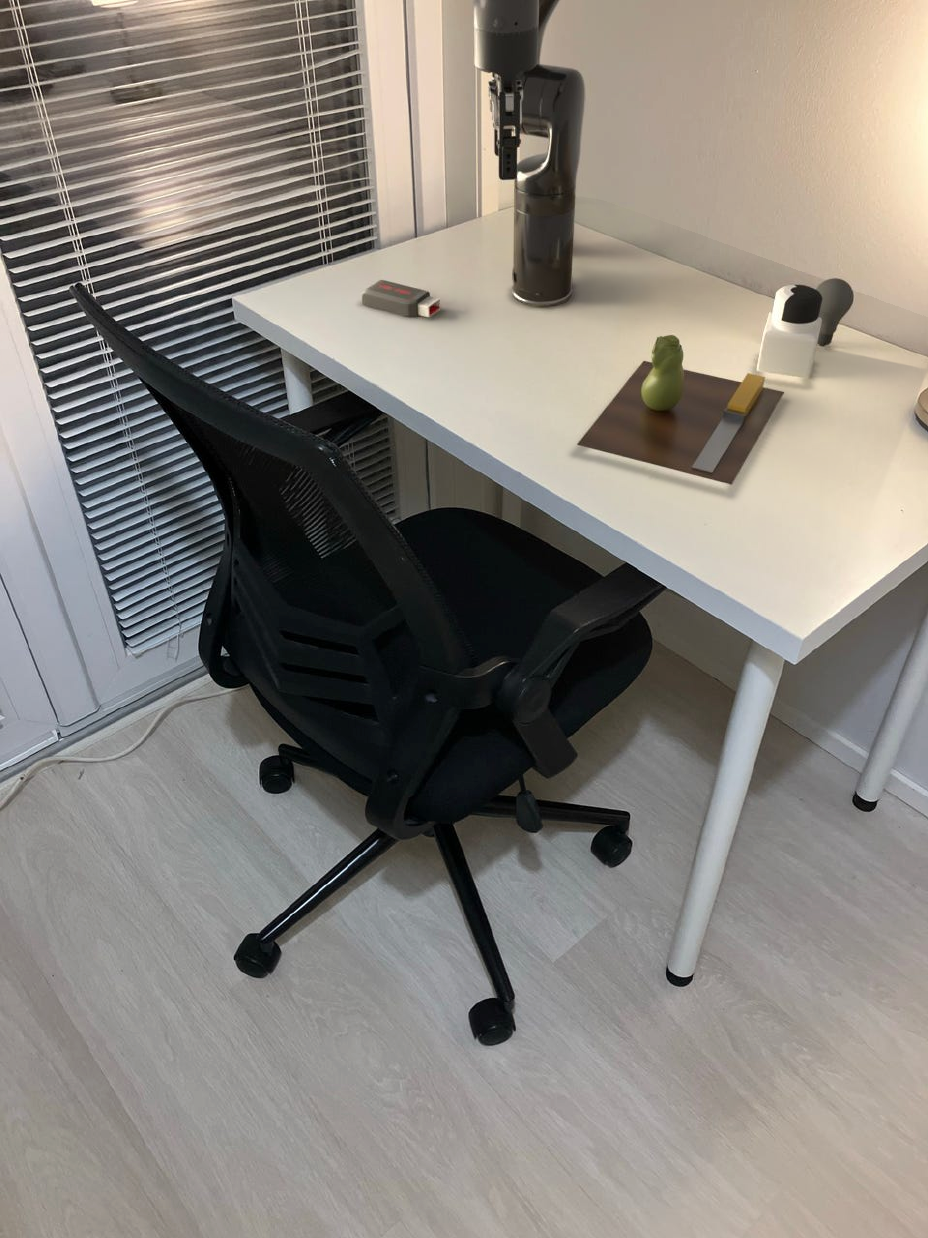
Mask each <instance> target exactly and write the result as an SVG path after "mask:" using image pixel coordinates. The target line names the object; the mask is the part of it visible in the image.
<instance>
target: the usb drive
mask: <svg viewBox="0 0 928 1238" xmlns="http://www.w3.org/2000/svg"><path fill="white" fill-rule="evenodd" d="M361 304H362V306H366V307H369V308H373V309H377V310H381V311H384V312H388V313H392V314H395V315H400V316H403V317H407V318H418V317H420V316H421V317H425V318H431V317H432V316H433V315H435V314H436V313H438V312H439V311H441V298H439V297H435V296H431V292H430V291H428V290H424V289H421V288H416V287H413V286H410V285H409V286H408V285H405V284H401V283H397V282H394V281H389V280H386V279H379V280H378V281H376V282H374V283H373V284H371V285H370V286H369V287H367V288H365V289H364V290H363V291H362V294H361Z"/></svg>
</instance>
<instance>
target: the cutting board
mask: <svg viewBox="0 0 928 1238" xmlns="http://www.w3.org/2000/svg"><path fill="white" fill-rule="evenodd" d="M653 367H654V366H653V364H652V361H648V360H643V361H642V362H641V363H640V365H639V366H638V367H637V369H636V370H635V371H634V372H633V373H632V374H631V376H630V377H629V378H628V379H627V381H626V382H625V383H624V385H623V386H622V387H621V389H619V391H618V392H617V393H616V395H615V396H614V397H613V399H612V400H611V401H610V402H609V403H608V405H607V406H606V407H605V409H604V410H603V411H602V412H601V413H600V414H599V416H598V417H597V418H596V419H595V421H594V422H593V423H592V425H591V426H590V427H589V428H588V430H587V431H586V432H585V434H583V436H582V437H581V438H580V440H578V442H577V443H576V445H577V446H581V447H584V448H588V449H592V450H596V451H600V452H604V453H606V454H607V453H608V454H611V455H614V456H615V455H616V456H618V457H623V458H627V459H631V460H634V461H639V462H643V463H646V464H650V465H654V466H658V467H662V468H666V469H670V470H674V471H678V472H681V473H685V474H689V475H692V476H697V477H701V478H705V479H708V480H712V481H716V482H721V483H723V484H727V485H733V483H734V481H735V479H736V477H737V476H738V474H739V472H740V470H741V468H742V467H743V465H744V463H745V462H746V460H747V459H748V456H749V454H751V451H752V449H753V448H754V446H755V444H756V443H757V441H758V439H759V438H760V436H761V434H762V432H763V431H764V428H765V427H766V425H767V423H768V422H769V420H770V418H771V416H772V415H773V413H774V411H775V409H776V408H777V406H778V405H779V402H780V401H781V399H782V398H783V395H785V391H783V390H778V389H773V388H768V387H765V386H763V389H762V391H761V393H760V394H759V396H758V398H757V399H756V401H755V403H754V404H753V406H752V408H751V409H750V411H749V412H748V414H747V416H746V420H745V422H744V423H743V424H742V426H741V427H740V429H739V430H738V432H737V434H736V435H735V437H734V439H733V440H732V442H731V444H730V445H729V447H728V449H727V450H726V452H725V454H724V455H723V457H722V459H721V460H720V462H719V464H718V465H717V467H716V468H715V470H714V472H713V473H712V474H709V473H705V472H702V471H698V470H694V469H692V466H693V464H694V463H695V461H696V460H697V458H698V456H699V455H700V453H701V452H702V450H703V449H704V447H705V445H706V444H707V442H708V441H709V439H710V438H711V436H712V434H713V433H714V431H715V430H716V428H717V427H718V425H719V423H720V422H721V420H722V419H723V413H724V410H725V408H727V406H728V403H729V402H730V400H731V399H732V397H733V395H734V394H735V392H736V391H737V389H738V388H739V386H740V385H741V383H742V381H738V380H733V379H732V380H731V379H728V378H724V377H719V376H715V375H710V374H705V373H702V372H697V371H692V370H688V369H684V368H683V370H684V385H683V393H682V396H681V399H680V401H679V402H678V404H677V405H676V406H675V407H673V408H672V409H669V410H666V411H657V410H654V409H651V408H650V407H648V406H647V405H646V404H645V402H644V401H643V398H642V394H641V389H642V384H643V382H644V380H645V379H646V378H647V376H648V375H649V373H650V371H651V370H652V369H653Z"/></svg>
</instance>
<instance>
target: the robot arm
mask: <svg viewBox="0 0 928 1238" xmlns="http://www.w3.org/2000/svg"><path fill="white" fill-rule="evenodd" d="M559 3H561V0H472V25H473V26H472V28H473V29H472V36H473V40H472V41H473V64H474V66H475V68H476V69H477V70H479V71H480V72H483V73H487V74H491V80H488V82H487V83H488V84H487V87H488V88H487V90H488V97H489V111H490V113H492V115H491V120H492V128H493V152H494V155H495V156H496V157H498V179H500V180H501V181H514V182H513V183H514V184H513V186H514V187H513V192H514V193H513V258H512V259H513V260H512V261H513V263H512V272H511V281H512V287H511V288H512V290H511V294H512V297H513V298H514V299H515V300H516V301H518V302H520V303H522V304H524V305H528V306H532V307H552V306H557V305H560V304H563V303H565V302H567V301H568V300H569V299H570V298H571V297H572V279H573V278H572V274H573V261H574V260H573V258H574V257H573V256H574V241H575V240H574V237H575V217H576V199H577V197H576V195H577V181H578V180H577V179H578V171H579V166H580V160H581V150H582V139H583V129H584V119H585V112H586V111H585V109H586V83H585V79H584V77H583V75H582V72H581V71H579V70H578V69H576V68H571V67H565V66H558V65H551V64H543V63H541V55H542V54H541V53H542V47H543V41H544V38H545V33H546V30H547V28H548V27H547V26H548V24H549V21H550V20H551V17H552V16H553V13H554V12H555V10H556V9H557V7H558V5H559ZM521 135H525V136H531V137H537V138H543V139H548V146H547V151H546V152H543V153H538V154H534V155H530V156H528V157H527V156H526V157H525V158H523V159H521V160H520V161H518V148H520V147H521V144H522V139H521Z"/></svg>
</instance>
